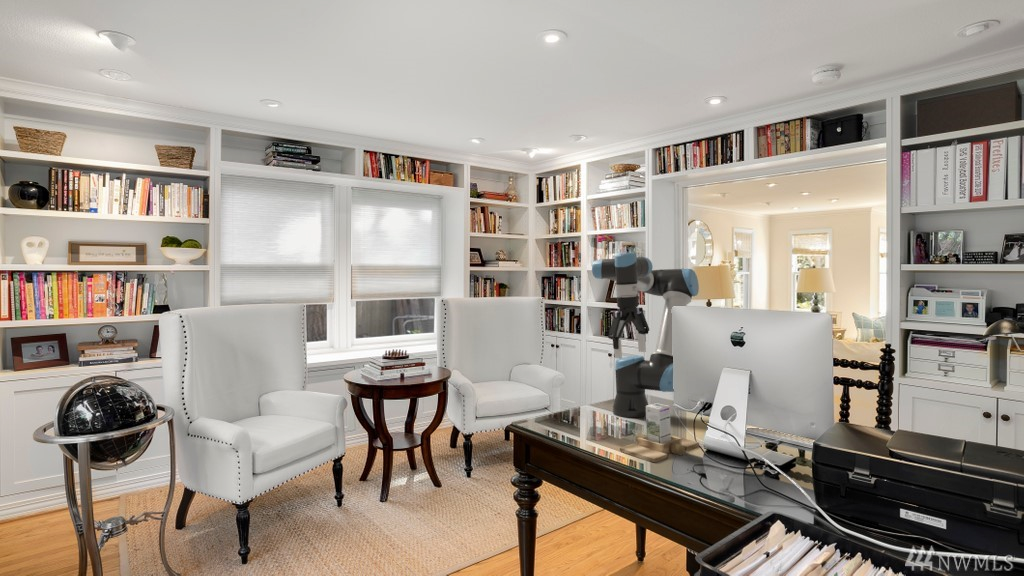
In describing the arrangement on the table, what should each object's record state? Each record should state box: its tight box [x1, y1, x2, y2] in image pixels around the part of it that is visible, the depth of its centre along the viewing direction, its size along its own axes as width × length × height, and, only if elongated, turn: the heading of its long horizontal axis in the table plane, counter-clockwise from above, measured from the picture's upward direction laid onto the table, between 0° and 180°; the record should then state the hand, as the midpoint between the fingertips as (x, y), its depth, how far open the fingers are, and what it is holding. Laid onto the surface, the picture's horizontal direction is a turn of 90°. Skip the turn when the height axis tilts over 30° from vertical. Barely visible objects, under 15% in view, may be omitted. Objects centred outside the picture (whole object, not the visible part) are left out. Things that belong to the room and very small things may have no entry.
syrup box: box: [645, 402, 672, 444], centre depth 176 cm, size 6×6×14 cm
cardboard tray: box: [619, 433, 700, 463], centre depth 176 cm, size 18×23×4 cm
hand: (630, 354), depth 193 cm, fingers open, 13 cm apart
